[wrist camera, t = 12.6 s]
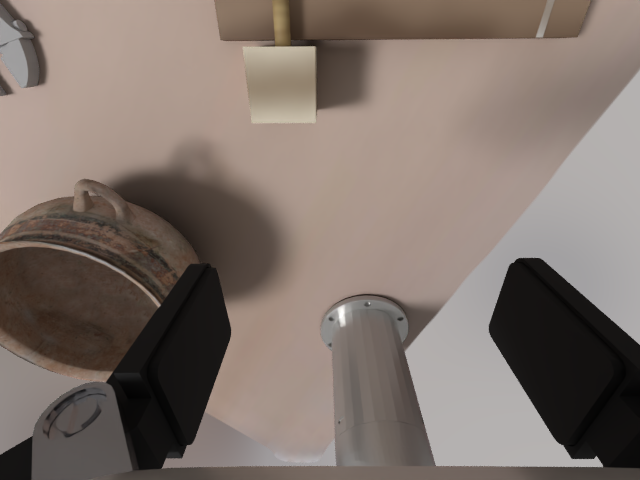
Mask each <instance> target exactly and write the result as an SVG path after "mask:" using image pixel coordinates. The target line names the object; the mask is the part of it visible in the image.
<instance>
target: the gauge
mask: <svg viewBox="0 0 640 480" xmlns="http://www.w3.org/2000/svg"><path fill="white" fill-rule="evenodd" d="M272 6H273V20H274V34H275V47H243V55H244V63H245V72H246V80H247V88H248V97H249V105H250V113H251V122H252V123H316V116H317V47H315V46H307V47H291V34H290V12H289V0H272Z"/></svg>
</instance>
